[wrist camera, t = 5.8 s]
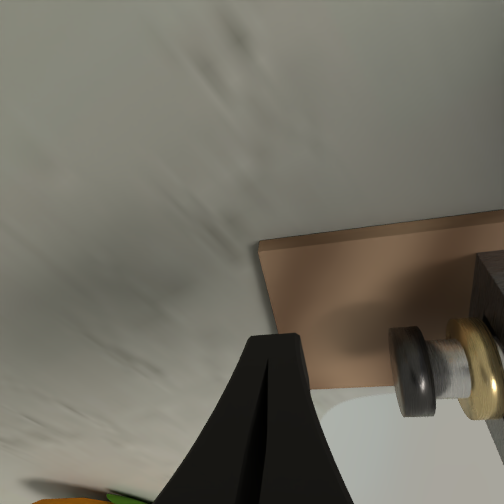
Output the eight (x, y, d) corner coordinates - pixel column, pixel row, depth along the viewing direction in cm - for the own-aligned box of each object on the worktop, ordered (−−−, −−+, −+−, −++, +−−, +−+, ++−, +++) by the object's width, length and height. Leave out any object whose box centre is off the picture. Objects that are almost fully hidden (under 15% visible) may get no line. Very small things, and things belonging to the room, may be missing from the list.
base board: (637, 192, 16) (655, 203, 16) (575, 362, 22) (585, 376, 22) (259, 240, 20) (257, 252, 19) (292, 377, 26) (292, 390, 25)
